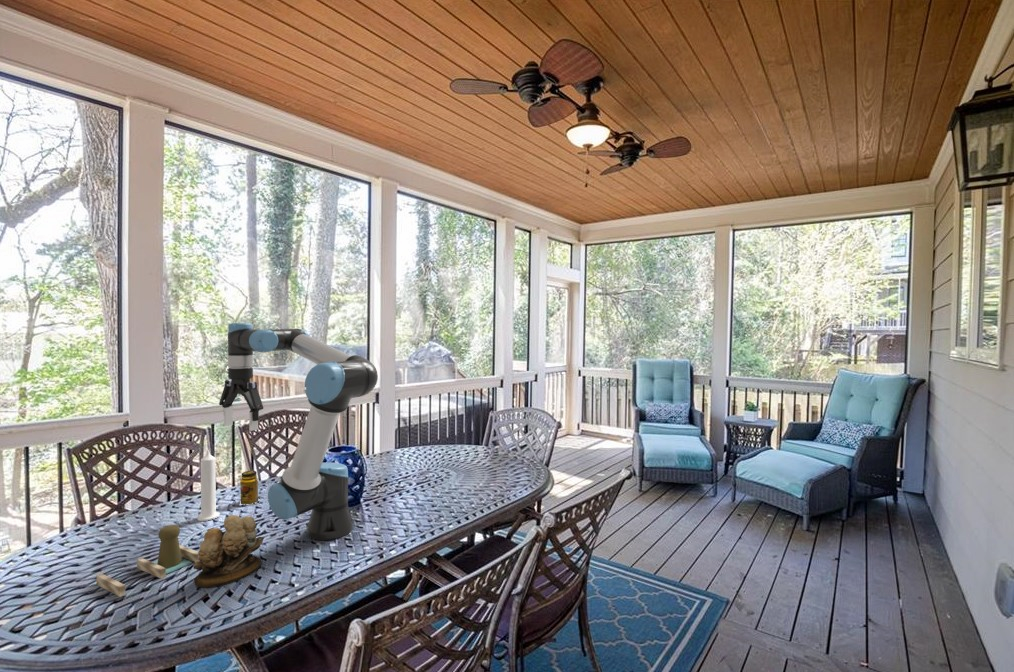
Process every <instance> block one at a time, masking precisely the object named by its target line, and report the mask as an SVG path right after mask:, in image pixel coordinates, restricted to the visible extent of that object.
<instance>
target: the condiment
mask: <svg viewBox="0 0 1014 672" xmlns="http://www.w3.org/2000/svg"><path fill="white" fill-rule="evenodd" d="M257 476H258V474H257V471H256V470H246V471H243V472H242V473H241V479H240V482H239V483H240V500H241V504H251V505H253V504H252V503H255V502H257V501H258V498H259V499H260V500H261V498H262V495H259V486H258V484H259V483H258V482H259V479H258V477H257ZM258 496H259V497H258ZM260 497H261V498H260ZM255 504H258V503H255ZM255 504H254V505H255Z"/></svg>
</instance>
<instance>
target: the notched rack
mask: <svg viewBox="0 0 1014 672" xmlns="http://www.w3.org/2000/svg"><path fill="white" fill-rule="evenodd" d="M179 546H180V552H181V558H182V562H181V563H180V564H179V565H177V566H174V567H171V568H167V569H166V568H164V567H162V566H160V565H157V563H158V560H155V561H150V560H147V559H145V558H143V557H141V558H138V559H137V560H136V561H137V562H136V565H137V566H136V567H137V568H136V569H138V570H141V571H143V572H145V573H148V574H150V575H152V576H154V577H156V578H159V579H164V578H166V577H167V576H166V575H168V574H171V573H174V572H175V571H177V570H178V571H179V570H180V569H183V568H185V567H187V566H189V565H191V564H193V563H196V562H198V561H200V560H199V559H198V555H199V554H198V552H199V551H198V550H194V549H191V548H188V547H187V546H184V545H181V544H179ZM95 579H96V586H98V587H100V588H102V589H104V590H106V591H108V592H110V593H112V594H113V595H116V596H117V597H120V598H122V597H123V596H125V595H126V584H124V583H121V582H120V581H118V580H116V579H113V578H112V577H110V576H108V575H105V574H104V573H100V574H97V575H96V578H95Z"/></svg>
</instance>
